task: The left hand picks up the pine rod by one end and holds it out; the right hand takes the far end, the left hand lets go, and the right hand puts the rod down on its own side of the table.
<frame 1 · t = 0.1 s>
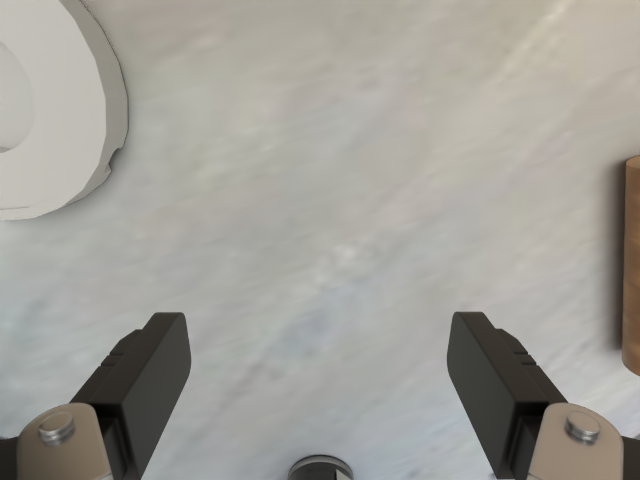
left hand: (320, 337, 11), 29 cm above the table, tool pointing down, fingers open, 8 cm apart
ashtray: (6, 91, 36), on the table
rod: (638, 260, 42), on the table
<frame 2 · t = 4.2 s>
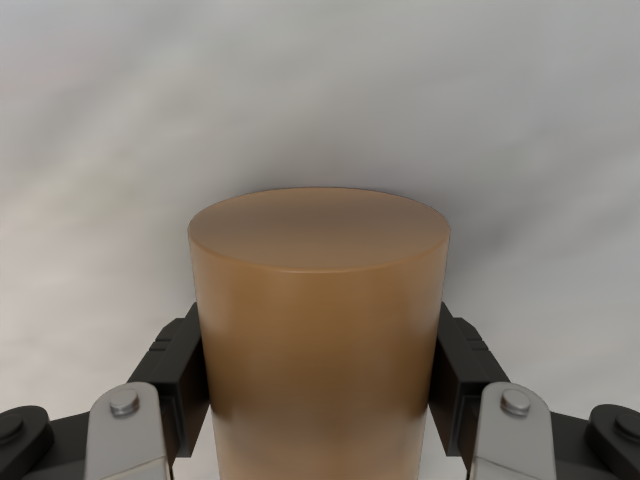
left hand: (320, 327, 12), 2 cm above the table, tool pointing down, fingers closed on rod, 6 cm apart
rod: (319, 464, 16), on the table, touching left hand
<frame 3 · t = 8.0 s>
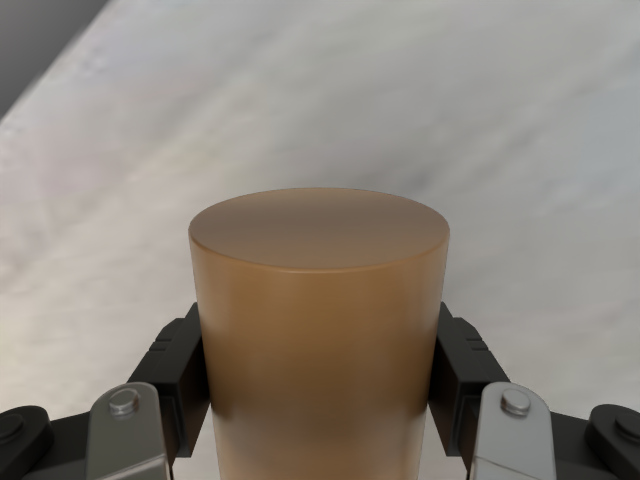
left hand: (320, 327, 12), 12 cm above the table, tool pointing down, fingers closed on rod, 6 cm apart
rod: (319, 464, 16), point 10 cm above the table, touching left hand, right hand
when the left hand's fingers open (12 cm above the table, at t = 9.3 s): rod moves 1 cm, held by the right hand.
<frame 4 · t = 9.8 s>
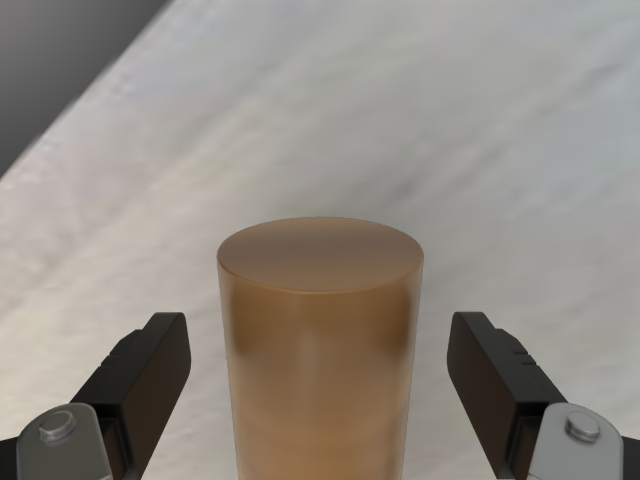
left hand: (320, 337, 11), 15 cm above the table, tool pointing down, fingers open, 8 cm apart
rod: (319, 457, 18), point 11 cm above the table, touching right hand
when the right hand's fingers open (5 cm above the table, at t = 15.5 s): rod stays where it is, on the table.
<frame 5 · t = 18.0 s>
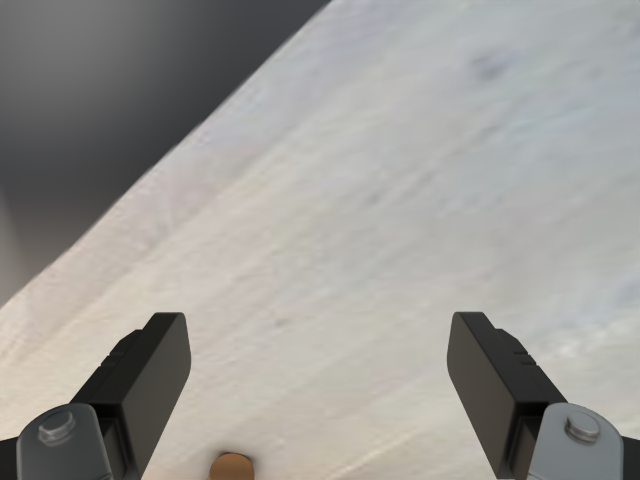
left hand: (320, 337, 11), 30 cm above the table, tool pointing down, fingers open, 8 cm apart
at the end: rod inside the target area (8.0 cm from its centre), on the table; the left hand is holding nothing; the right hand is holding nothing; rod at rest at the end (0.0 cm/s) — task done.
